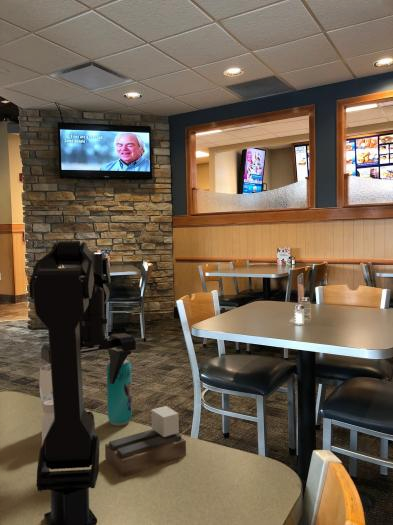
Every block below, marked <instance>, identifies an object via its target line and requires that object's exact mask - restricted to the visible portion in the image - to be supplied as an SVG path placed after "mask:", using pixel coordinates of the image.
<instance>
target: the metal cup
mask: <svg viewBox="0 0 393 525" xmlns="http://www.w3.org/2000/svg"><path fill="white" fill-rule="evenodd" d="M38 382H39V387H38V388H39V395H40V401H41V406H42V407H43V403H44V402H46V401H48V400H53V391H52V377H51V363H48V364H45V365H42V366H40V368H39V381H38Z"/></svg>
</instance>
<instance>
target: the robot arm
mask: <svg viewBox="0 0 393 525" xmlns="http://www.w3.org/2000/svg"><path fill="white" fill-rule="evenodd" d="M60 266H61V267H62V266H63V267H64V268H63V267H62V268H61V267H60ZM111 282H112V281H111V270H110V263H109V258H108V257H106V254H105V252H101V251H100V252H99V251H98V252H95V251H94V252H92V251H91V250H90V248H88V243H87V242H86V241H85V242H84V241H82V240H58V242H54V243H53V245H52V247H51V250H50V251H49V252H48V253H46V254H45V255H44V256H43V257H42V258H40V259H39V260H37V262H35V265H34V267H33V270H32V274H31V277H30V279H29V284H28V285H29V286H28V287H29V288H28V290H29V296H30V299H31V300H32V301H33V305H34V313H35V315H36V317H37V318H38V319H39V320H40V322H41V323H42V324H43V325H44V327H45V328H46V329H47V331H48V343H44V344H43V345H42V347H41V348H40V359H42V360H44V361H45V362H46V363H48V364H51V377H52V391H53V406H54V419H53V421H52V423H51V425H50V428H49V430H48V432H47V435H46V437H45V439H44V442H43V445H42V444H41V447H40V448H39V454H38V461H37V467H36V468H37V469H36V488H37V492H43V491H50V493H49V494H50V496H49V497H50V511H48V512H46V513H44V515H43V519H44V521H45V522H46V525H96V524H98V518H97V516H96V515H95V514H94V512H93V511H92V509H91V508H90V490H89V489H95V488H96V486H97V485H96V484H97V480H98V477H99V472H100V436H99V434H98V435H97V434H96V422H95V414H93V412H92V411H86V409H85V406H84V390H83V388H84V387H83V372H82V371H83V370H82V369H83V368H82V354H85V353H90V352H91V353H92V352H95V351H102V350H103V351H104V350H107V351H108V355H109V360H110V374H109V377H110V384H114V383H115V380H116V378H117V376H118V373H119V371H120V369H121V367H122V365H123V363H124V361H125V359H126V358H127V359H128V356H130V355H131V354H132V351H135V350H137V349H138V346H137V345H138V342H137V339H136V337H135V336H134V335H133V334H132V335H131V334H128V333H125V332H122V333H114V334H110V335H109V337H108V338H107V337H105V336H106V334H105V332H106V331H105V329H106V328H105V327H106V326H105V325H106V324H108V319H107V318H106V317H105V304H106V303H107V302H108V300H109V298H110V290H109V288H108V286H107V285H106V284H111ZM80 468H82V469H80ZM83 468H84V469H83ZM86 468H88V469H86ZM89 468H90V469H89ZM61 469H63V470H61ZM65 469H71V470H65ZM51 470H53V471H51Z"/></svg>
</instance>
